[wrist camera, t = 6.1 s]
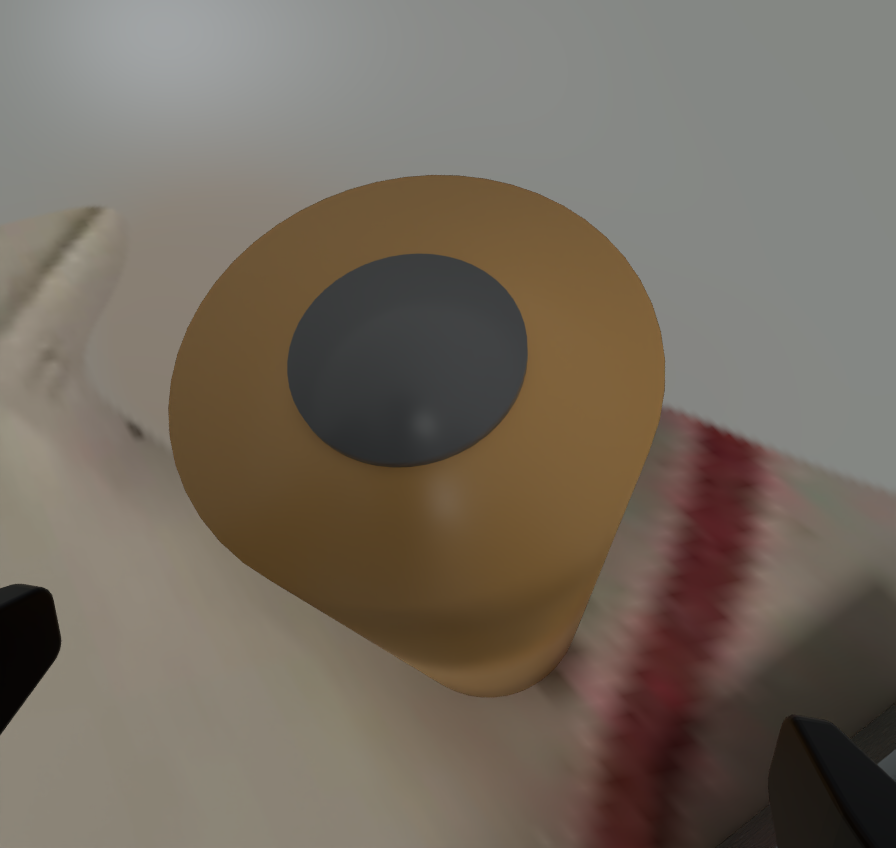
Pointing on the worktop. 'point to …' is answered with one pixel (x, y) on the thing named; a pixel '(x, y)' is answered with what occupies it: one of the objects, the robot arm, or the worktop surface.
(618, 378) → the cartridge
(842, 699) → the worktop surface
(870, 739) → the unit
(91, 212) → the worktop surface
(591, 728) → the worktop surface
